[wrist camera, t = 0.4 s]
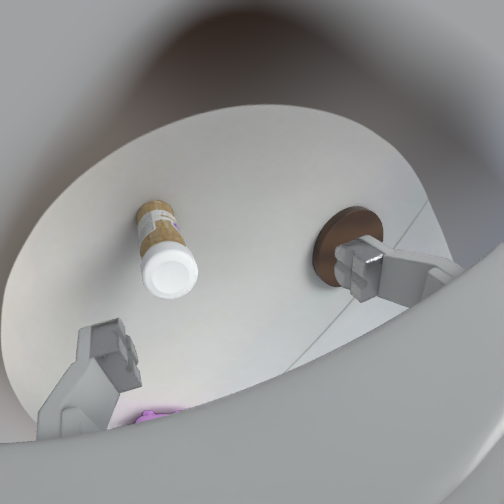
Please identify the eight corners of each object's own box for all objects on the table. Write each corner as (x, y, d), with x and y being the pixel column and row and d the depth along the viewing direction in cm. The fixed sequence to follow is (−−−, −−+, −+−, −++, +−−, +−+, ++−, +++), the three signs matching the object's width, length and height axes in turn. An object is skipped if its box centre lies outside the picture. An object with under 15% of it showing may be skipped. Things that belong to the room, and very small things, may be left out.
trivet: (312, 217, 42) (317, 221, 41) (380, 198, 46) (386, 201, 45) (312, 293, 49) (317, 298, 48) (373, 267, 53) (378, 271, 52)
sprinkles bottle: (181, 215, 35) (210, 272, 24) (156, 242, 35) (174, 310, 24) (153, 191, 32) (168, 239, 21) (127, 220, 32) (130, 283, 21)
